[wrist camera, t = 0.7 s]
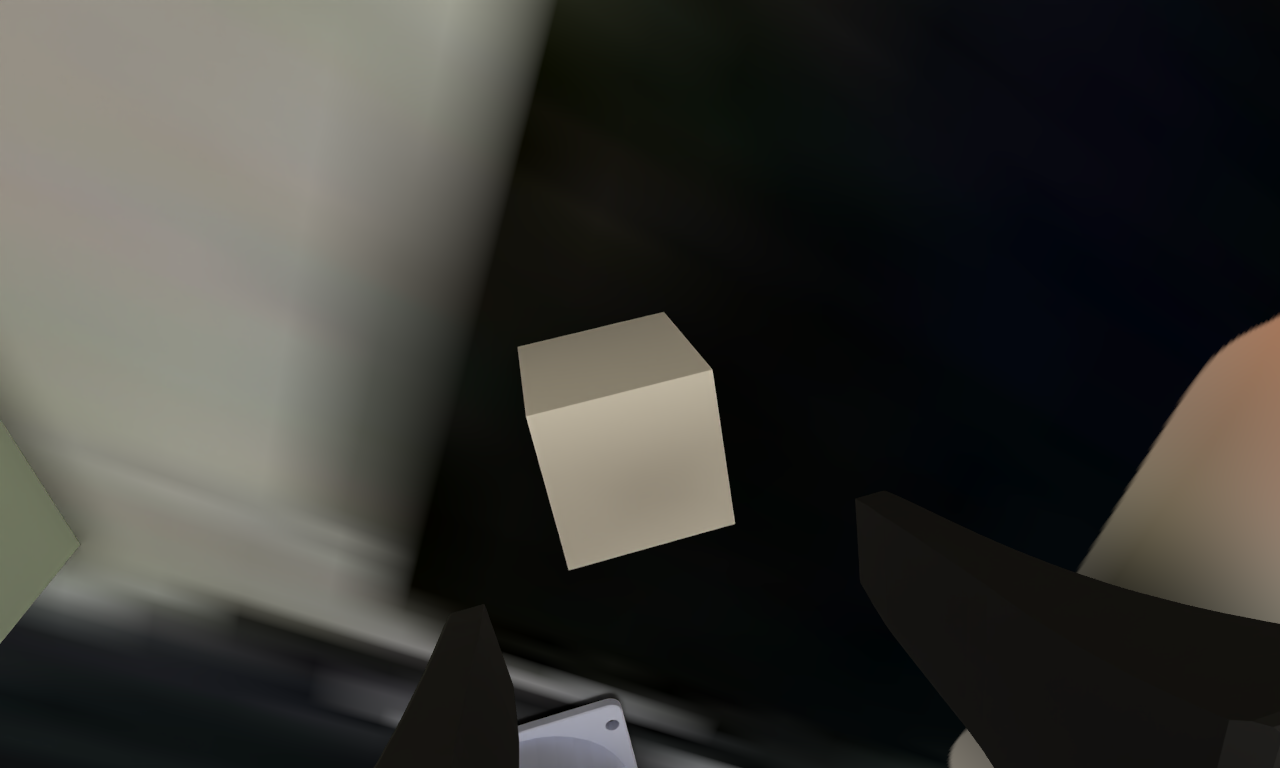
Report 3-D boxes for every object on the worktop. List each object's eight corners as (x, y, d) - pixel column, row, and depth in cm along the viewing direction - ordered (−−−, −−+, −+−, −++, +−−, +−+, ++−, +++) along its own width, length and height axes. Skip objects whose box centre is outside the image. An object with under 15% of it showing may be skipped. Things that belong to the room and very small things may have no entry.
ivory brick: (685, 439, 23) (735, 523, 18) (552, 474, 22) (569, 570, 17) (663, 311, 21) (712, 369, 16) (517, 346, 20) (526, 416, 16)
